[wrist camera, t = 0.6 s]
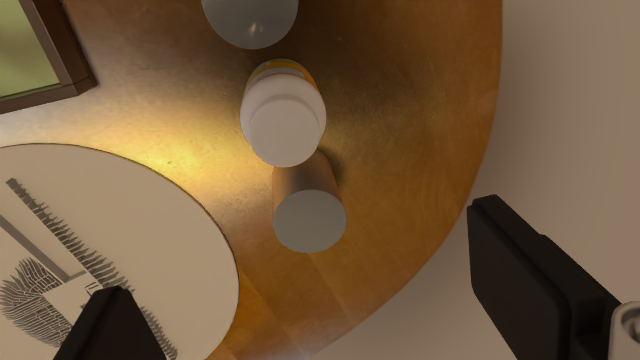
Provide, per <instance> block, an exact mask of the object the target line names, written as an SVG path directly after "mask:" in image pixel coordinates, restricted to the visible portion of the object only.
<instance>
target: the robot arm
mask: <svg viewBox="0 0 640 360" xmlns="http://www.w3.org/2000/svg"><path fill="white" fill-rule="evenodd" d="M467 224H468V238H469V255H470V270H471V283H472V288H473V291H474V293H475V295H476V297H477V299H478V300H479V302H480V303H481V304H482V306H483V308H484V309H485V311H486V312H487V314H488V315H489V317H490V318H491V320H492V322H493V323H494V325H495V326H496V328H497V329H498V331H499V332H500V334H501V335H502V337H503V338H504V340H505V341H506V343H507V344H508V346H509V347H510V349H511V350H512V352H513V353H514V355H515V357H516V358H517V360H640V301H630V302H628V303H624V304H622V303H621V302H620V301H618V300H617V299H616V298H615V297H614V296H613V295H612V294H611V293H609V292H608V291H607V290H606V289H605V288H604V287H603V286H602V285H601V284H599V283H598V282H597V281H596V280H595V279H594V278H593V277H592V276H591V275H590V274H589V273H587V272H586V271H585V270H584V269H583V268H582V267H581V266H580V265H578V264H577V263H576V262H575V261H574V260H573V259H572V258H571V257H570V256H569V255H568V254H566V253H565V252H564V251H563V250H562V249H561V248H560V247H559V246H558V245H556V244H555V243H554V242H553V241H552V240H550V238H548V237H547V236H546V235H542V234H539V233H538V232H536V231H535V230H534V229H533V228H532V227H531V226H530V225H529V224H528V223H527V222H526V221H525V220H524V219H522V218H521V217H520V216H519V215H518V214H517V213H516V212H515V211H514V210H513V209H512V208H511V207H509V206H508V205H507V204H506V203H505V202H504V201H503V200H502V199H501V198H500V197H499V196H497V195H495V194H493V195H489V196H485V197H481V198H477V199H474V200H473V202H472V205H471V206H468V207H467ZM53 360H167V358H166V355H165V354H164V352H163V350H162V348H161V346H160V344H159V343H158V341H157V339H156V337H155V335H154V334H153V332H152V330H151V328H150V326H149V325H148V323H147V321H146V319H145V317H144V316H143V314H142V312H141V310H140V308H139V307H138V305H137V303H136V301H135V299H134V298H133V296H132V294H131V292H130V291H129V290H128V289H123V288H122V287H121V286H119V285H115V286H111V287H107V288H103V289H99V290H96V291H94V293H93V294H92V295H91V297H90V299H89V300H88V302H87V304H86V305H85V307H84V309H83V310H82V312H81V314H80V315H79V317H78V318H77V320H76V322H75V323H74V325H73V327H72V328H71V330H70V332H69V333H68V335H67V337H66V338H65V340H64V342H63V343H62V345H61V347H60V348H59V350H58V351H57V353H56V355H55V356H54V358H53Z"/></svg>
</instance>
